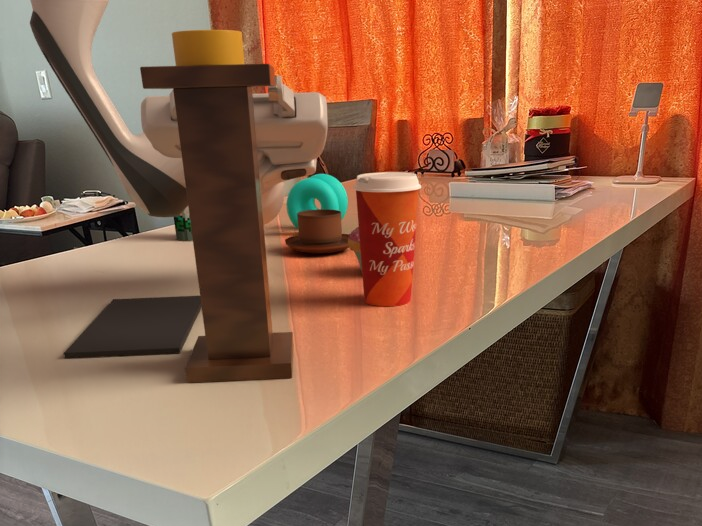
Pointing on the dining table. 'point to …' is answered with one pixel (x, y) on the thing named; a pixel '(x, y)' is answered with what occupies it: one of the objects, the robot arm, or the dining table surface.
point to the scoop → (208, 47)
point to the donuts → (316, 196)
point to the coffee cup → (387, 235)
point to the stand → (226, 220)
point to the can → (183, 226)
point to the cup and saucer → (319, 232)
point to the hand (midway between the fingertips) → (227, 83)
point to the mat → (138, 327)
